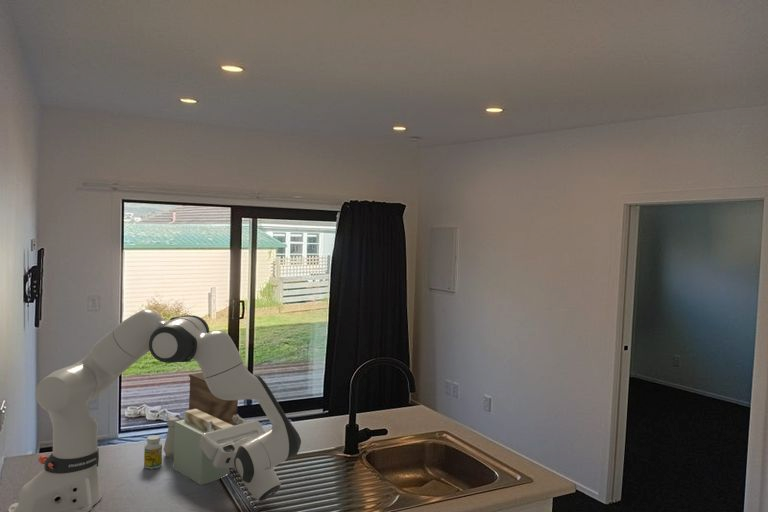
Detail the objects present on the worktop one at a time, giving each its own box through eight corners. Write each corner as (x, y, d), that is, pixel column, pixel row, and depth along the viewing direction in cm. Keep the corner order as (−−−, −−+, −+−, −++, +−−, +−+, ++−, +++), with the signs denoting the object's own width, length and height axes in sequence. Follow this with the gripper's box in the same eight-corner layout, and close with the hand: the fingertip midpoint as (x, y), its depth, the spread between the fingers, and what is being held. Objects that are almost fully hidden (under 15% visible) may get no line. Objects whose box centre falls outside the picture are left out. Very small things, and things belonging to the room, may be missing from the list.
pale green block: (200, 485, 171) (202, 435, 170) (173, 468, 182) (174, 421, 181) (229, 475, 178) (230, 428, 178) (200, 460, 189) (202, 415, 189)
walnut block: (208, 457, 192) (211, 382, 192) (186, 445, 202) (189, 374, 201) (236, 448, 201) (239, 377, 200) (214, 437, 211) (217, 369, 210)
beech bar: (234, 435, 171) (235, 426, 171) (223, 439, 168) (223, 429, 168) (195, 417, 186) (195, 408, 186) (184, 420, 183) (184, 411, 183)
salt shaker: (184, 453, 195) (185, 416, 194) (176, 459, 189) (177, 421, 189) (168, 451, 195) (169, 415, 195) (160, 457, 190) (161, 420, 189)
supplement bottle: (164, 463, 185) (165, 435, 185) (156, 470, 180) (157, 440, 180) (149, 462, 186) (150, 433, 185) (140, 468, 180) (141, 439, 180)
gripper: (275, 436, 171) (253, 405, 179) (216, 453, 156) (195, 418, 164) (268, 451, 174) (246, 419, 181) (209, 469, 158) (188, 434, 166)
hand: (221, 419), depth 172 cm, fingers open, 8 cm apart
